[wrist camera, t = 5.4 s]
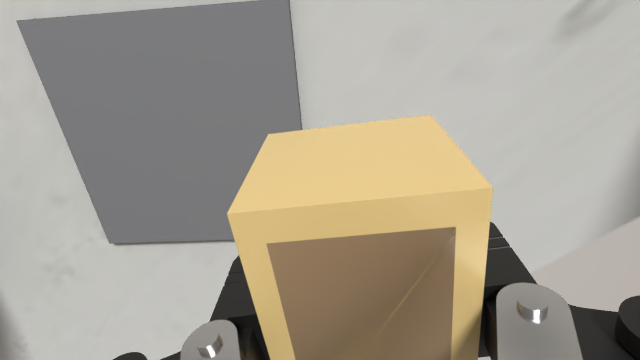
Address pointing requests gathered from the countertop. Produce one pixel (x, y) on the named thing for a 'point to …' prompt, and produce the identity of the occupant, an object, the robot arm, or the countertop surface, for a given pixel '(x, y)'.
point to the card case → (365, 242)
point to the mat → (168, 108)
